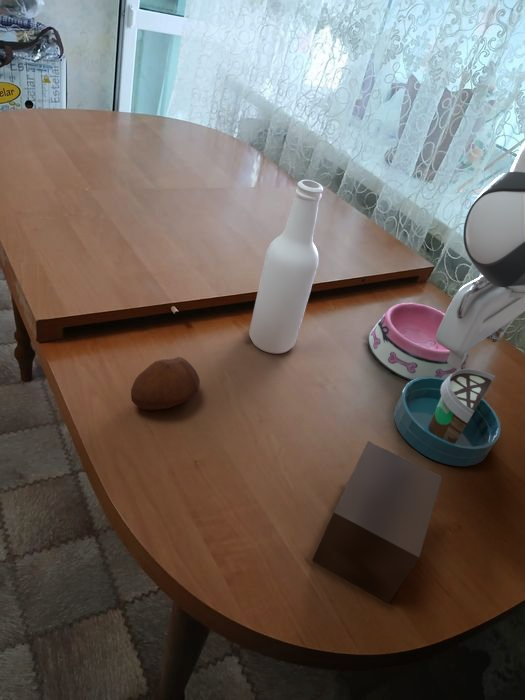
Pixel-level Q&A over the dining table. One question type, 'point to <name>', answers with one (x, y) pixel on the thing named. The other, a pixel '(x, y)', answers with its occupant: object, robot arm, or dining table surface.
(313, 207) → the alcohol
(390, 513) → the stand
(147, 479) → the dining table surface
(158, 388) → the potato
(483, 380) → the food container
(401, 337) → the dog bowl
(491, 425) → the teal bowl
